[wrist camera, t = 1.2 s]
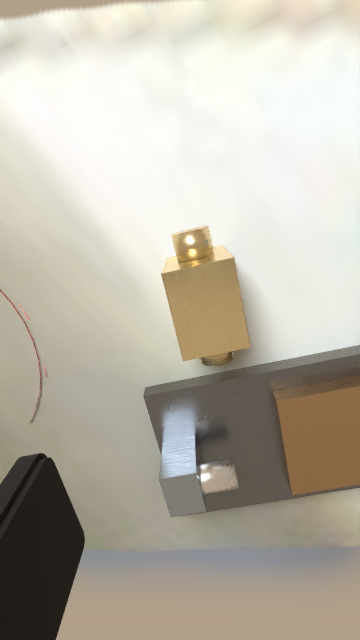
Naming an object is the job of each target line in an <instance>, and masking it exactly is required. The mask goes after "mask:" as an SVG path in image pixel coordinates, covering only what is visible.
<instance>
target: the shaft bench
mask: <svg viewBox="0 0 360 640" xmlns="http://www.w3.org/2000/svg"><path fill="white" fill-rule="evenodd" d="M144 399H145V403H146V406H147V409H148V413H149V416H150V419H151V423H152V426H153V429H154V432H155V436H156V439H157V442H158V446H159V449H160V452H161V465H160V474H159V481H160V484H161V487H162V491H163V494H164V497H165V500H166V503H167V507H168V510H169V513H170V516H171V517H175V516H185V515H191V514H197V513H204V512H210V511H216V510H222V509H229V508H235V507H241V506H247V505H254V504H260V503H266V502H272V501H279V500H285V499H291V498H297V497H304V496H310V495H316V494H322V493H329V492H335V491H341V490H347V489H354V488H360V345H358V346H353V347H348V348H343V349H338V350H333V351H328V352H323V353H318V354H313V355H308V356H303V357H298V358H293V359H288V360H283V361H277V362H272V363H267V364H262V365H257V366H252V367H247V368H242V369H237V370H232V371H227V372H222V373H217V374H212V375H207V376H201V377H196V378H191V379H186V380H181V381H176V382H171V383H166V384H161V385H156V386H151V387H146V388H145V392H144Z"/></svg>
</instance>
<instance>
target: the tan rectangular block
mask: <svg viewBox="0 0 360 640" xmlns="http://www.w3.org/2000/svg"><path fill="white" fill-rule="evenodd" d="M172 239H173V244H174V248H175V252H176V256H174V257H170V258H167V260H166V263H165V265H164V268H163V270H162V273H161V275H162V279H163V283H164V287H165V291H166V295H167V299H168V303H169V307H170V311H171V315H172V319H173V323H174V327H175V331H176V335H177V339H178V343H179V347H180V351H181V355H182V359H183V361H187V360H192V359H197V358H200V359H201V363H202V364H204V365H207V366H218V365H222V364H225V363H227V362H229V361H231V360H232V359H233V358H234V352H233V351H236V350H241V349H246V348H250V343H249V337H248V332H247V326H246V321H245V315H244V310H243V304H242V299H241V293H240V288H239V282H238V277H237V271H236V266H235V260H234V257H233V256H232V255H231V254H230V253H229V252H228V251H227V250H226V249H225V248H224V247H223V246H222V245H221V246H217V247H212V241H211V236H210V231H209V226H203V227H198V228H193V229H189V230H185V231H181V232H178V233H175V234H172Z"/></svg>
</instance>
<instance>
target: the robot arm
mask: <svg viewBox="0 0 360 640" xmlns="http://www.w3.org/2000/svg"><path fill="white" fill-rule="evenodd" d="M84 542H85V537H84V532H83V529H82V527H81V525H80V522H79V520H78V518H77V515H76V513H75V510H74V508H73V506H72V503H71V501H70V499H69V496H68V494H67V492H66V489H65V487H64V485H63V482H62V480H61V477H60V475H59V473H58V470H57V468H56V466H55V463H54V461H53V460H52V459H51V458H47V456H46V455H45V454H43V453H39V454H34V455H28V456H23V457H20V458H19V459H18V460H17V461H16V462H15V464H14V465H13V467H12V468H11V470H10V471H9V473H8V474H7V476H6V477H5V479H4V480H3V481H2V483H1V484H0V640H56V637H57V634H58V630H59V627H60V624H61V620H62V617H63V614H64V611H65V607H66V604H67V601H68V598H69V594H70V591H71V588H72V585H73V581H74V578H75V575H76V572H77V568H78V565H79V562H80V558H81V555H82V552H83V548H84Z"/></svg>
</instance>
